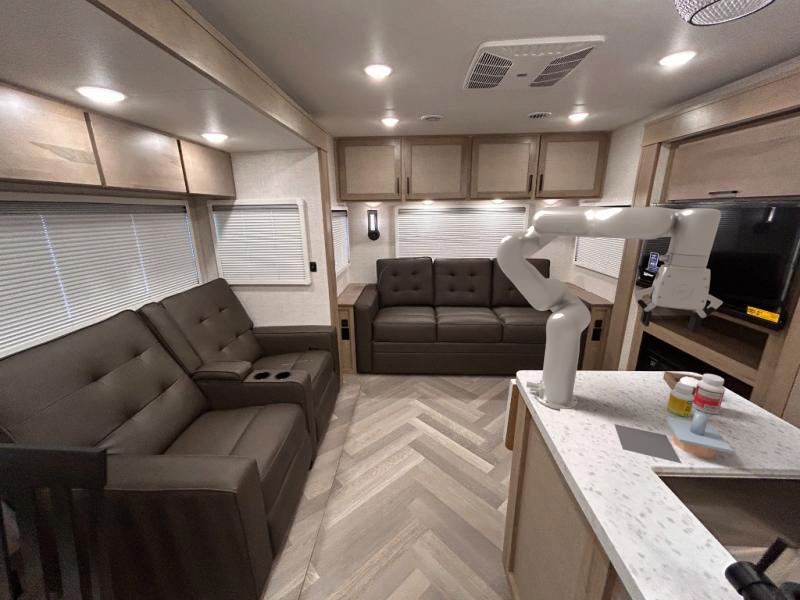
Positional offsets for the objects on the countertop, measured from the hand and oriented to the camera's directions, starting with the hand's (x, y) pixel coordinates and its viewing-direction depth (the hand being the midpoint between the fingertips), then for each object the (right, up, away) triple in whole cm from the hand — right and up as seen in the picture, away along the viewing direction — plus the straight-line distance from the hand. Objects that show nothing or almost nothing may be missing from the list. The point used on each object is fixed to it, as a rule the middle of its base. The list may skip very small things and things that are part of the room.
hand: (667, 327), depth 80 cm
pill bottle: (+28, -27, +19) cm, 43 cm away
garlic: (+34, -25, +30) cm, 52 cm away
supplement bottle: (+17, -28, +16) cm, 36 cm away
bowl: (+8, -32, +2) cm, 33 cm away
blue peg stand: (+8, -28, +1) cm, 29 cm away
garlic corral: (+33, -24, +30) cm, 51 cm away
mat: (-3, -31, +3) cm, 32 cm away
